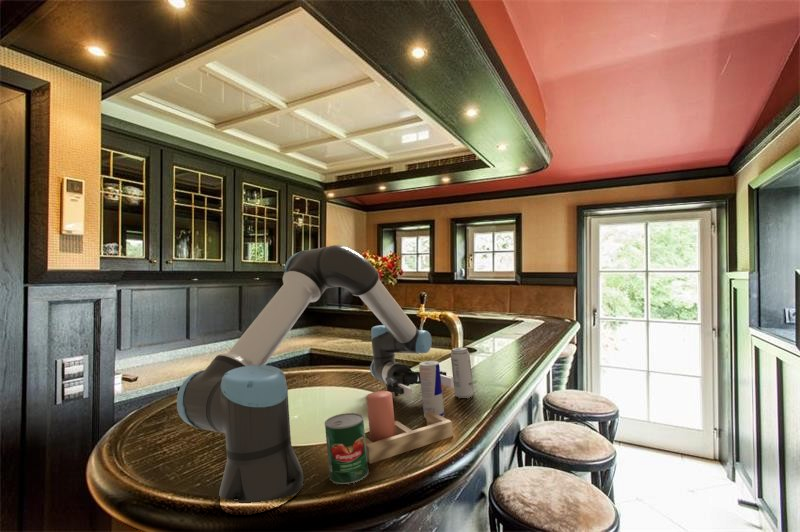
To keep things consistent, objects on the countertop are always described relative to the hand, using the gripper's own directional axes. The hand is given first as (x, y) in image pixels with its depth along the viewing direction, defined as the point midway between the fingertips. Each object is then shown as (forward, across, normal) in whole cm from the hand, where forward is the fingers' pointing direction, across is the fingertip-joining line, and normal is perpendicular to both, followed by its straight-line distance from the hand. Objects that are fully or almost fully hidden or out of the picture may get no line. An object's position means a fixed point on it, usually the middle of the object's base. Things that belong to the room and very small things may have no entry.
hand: (432, 388), depth 104 cm
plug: (+8, +20, -8) cm, 23 cm away
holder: (+8, +15, -8) cm, 19 cm away
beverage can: (0, 0, -8) cm, 8 cm away
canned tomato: (+15, +31, -8) cm, 35 cm away
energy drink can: (-8, -16, -8) cm, 20 cm away
